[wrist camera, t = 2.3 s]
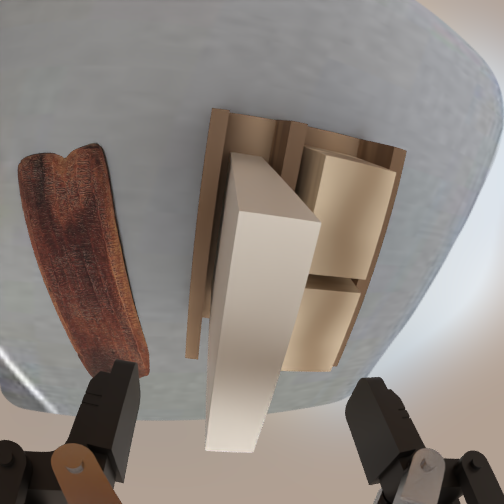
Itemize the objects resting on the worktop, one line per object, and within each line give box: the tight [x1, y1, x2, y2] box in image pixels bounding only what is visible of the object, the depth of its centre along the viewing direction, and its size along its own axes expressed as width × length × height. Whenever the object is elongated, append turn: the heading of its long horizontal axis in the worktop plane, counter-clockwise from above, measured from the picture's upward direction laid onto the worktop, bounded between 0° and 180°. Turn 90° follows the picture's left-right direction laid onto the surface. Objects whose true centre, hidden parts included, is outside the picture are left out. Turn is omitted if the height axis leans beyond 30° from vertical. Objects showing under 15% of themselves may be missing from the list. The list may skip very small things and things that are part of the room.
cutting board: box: [205, 152, 321, 453], centre depth 19 cm, size 2×12×16 cm, turn 171°
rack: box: [185, 108, 407, 366], centre depth 24 cm, size 13×18×7 cm
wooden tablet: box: [18, 143, 150, 378], centre depth 28 cm, size 26×2×10 cm
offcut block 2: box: [281, 274, 361, 372], centre depth 25 cm, size 4×7×8 cm, turn 171°
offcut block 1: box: [295, 145, 396, 280], centre depth 21 cm, size 4×7×8 cm, turn 171°
